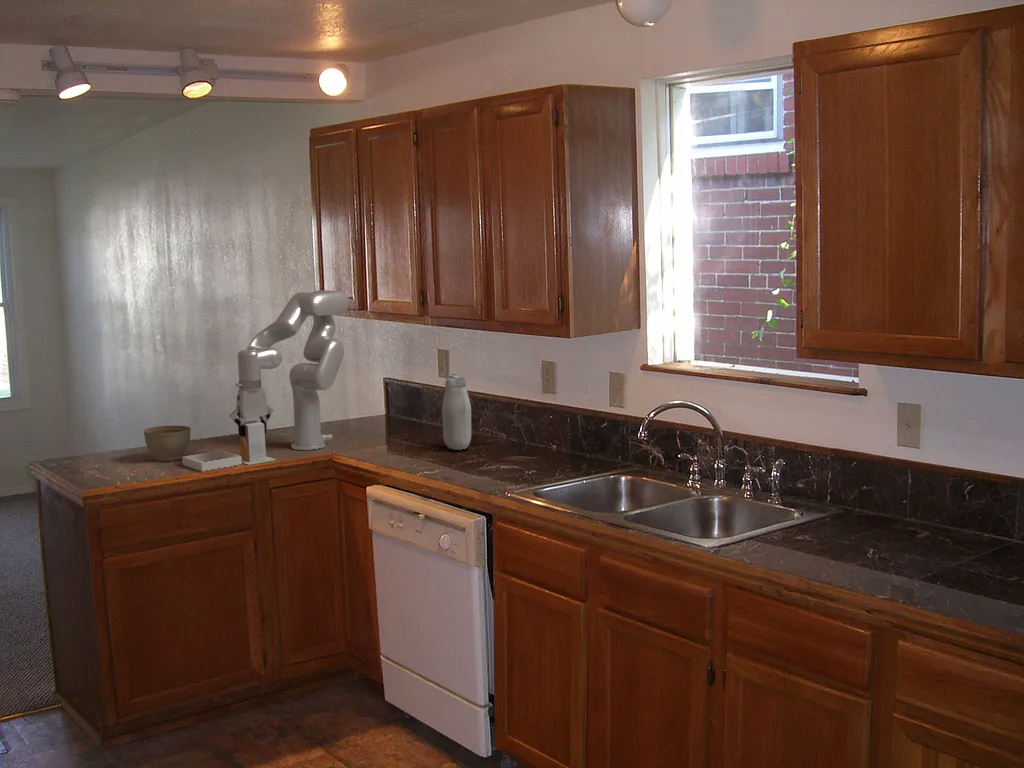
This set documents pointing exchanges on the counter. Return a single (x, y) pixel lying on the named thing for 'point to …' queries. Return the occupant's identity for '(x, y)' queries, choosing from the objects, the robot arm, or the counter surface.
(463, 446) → the glass bottle
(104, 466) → the counter surface
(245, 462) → the pad
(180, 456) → the planter bowl
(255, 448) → the small box
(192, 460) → the bin
